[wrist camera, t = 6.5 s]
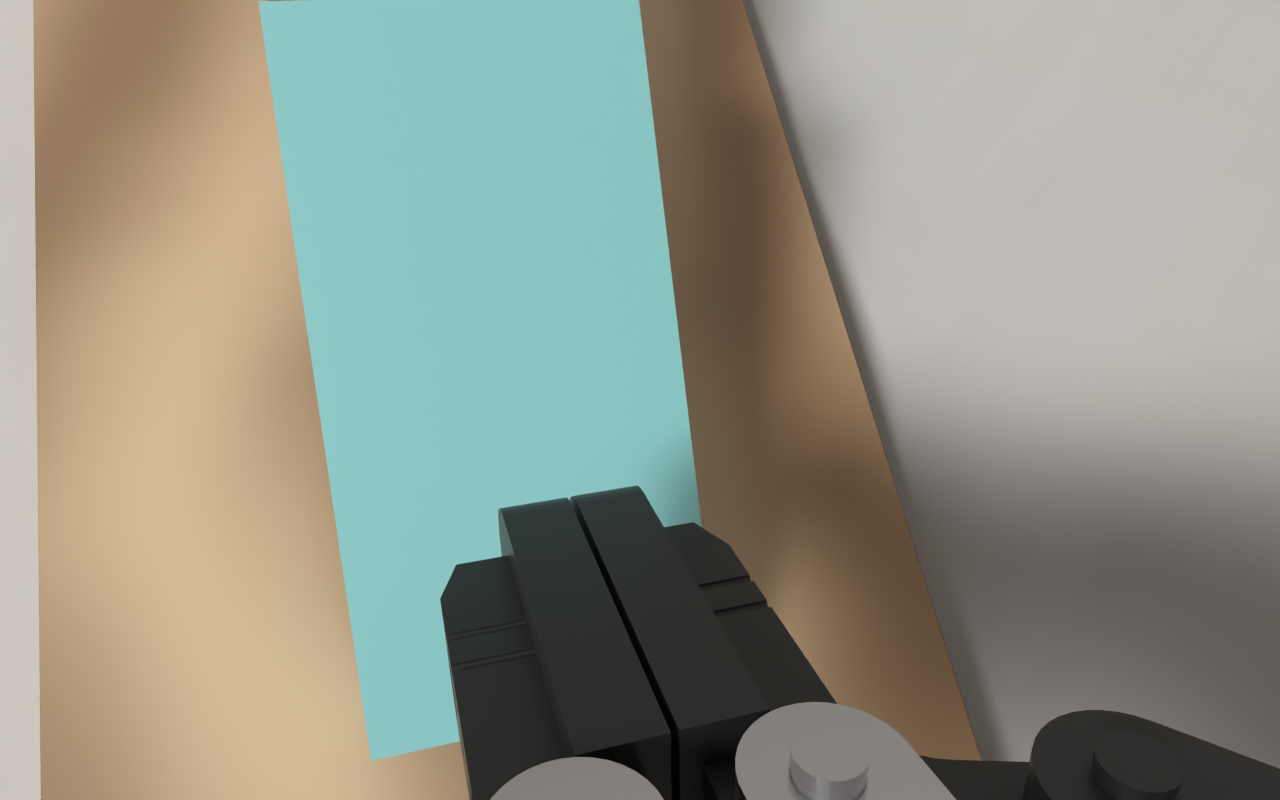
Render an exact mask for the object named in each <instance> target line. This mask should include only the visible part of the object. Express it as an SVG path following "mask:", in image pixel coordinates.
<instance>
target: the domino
mask: <svg viewBox="0 0 1280 800" xmlns="http://www.w3.org/2000/svg"><path fill="white" fill-rule="evenodd" d="M258 3H259V10H260V17H261V24H262V30H263V37H264V44H265V51H266V57H267V64H268V71H269V77H270V84H271V91H272V98H273V104H274V111H275V118H276V125H277V131H278V138H279V145H280V151H281V158H282V165H283V172H284V178H285V185H286V192H287V199H288V205H289V212H290V219H291V226H292V232H293V239H294V246H295V252H296V259H297V266H298V273H299V279H300V286H301V293H302V300H303V306H304V313H305V320H306V326H307V333H308V340H309V347H310V353H311V360H312V367H313V374H314V380H315V387H316V394H317V400H318V407H319V414H320V421H321V427H322V434H323V441H324V448H325V454H326V461H327V468H328V475H329V481H330V488H331V495H332V501H333V508H334V515H335V522H336V528H337V535H338V542H339V549H340V555H341V562H342V569H343V575H344V582H345V589H346V596H347V602H348V609H349V616H350V623H351V629H352V636H353V643H354V650H355V656H356V663H357V670H358V676H359V683H360V690H361V697H362V703H363V710H364V717H365V724H366V730H367V737H368V744H369V750H370V757H371V761H374V760H378V759H383V758H387V757H392V756H396V755H401V754H405V753H409V752H414V751H418V750H423V749H427V748H432V747H436V746H441V745H445V744H450V743H454V742H459V741H460V738H459V732H458V725H457V719H456V712H455V705H454V697H453V690H452V683H451V675H450V668H449V661H448V653H447V646H446V639H445V631H444V624H443V617H442V609H441V602H440V598H441V596H442V594H443V591H444V589H445V587H446V585H447V583H448V581H449V579H450V577H451V575H452V572H453V570H454V568H455V566H456V565H457V564H463V563H468V562H474V561H480V560H485V559H491V558H496V557H502V554H501V544H500V534H499V522H498V510H499V508H505V507H511V506H517V505H523V504H529V503H535V502H541V501H547V500H553V499H559V498H565V497H566V498H568V499H569V501H570V498H571V497H572V496H576V495H582V494H588V493H594V492H600V491H606V490H612V489H618V488H624V487H630V486H636V485H637V486H639V487H640V488H641V489H642V491H643V492H644V494H645V495H646V497H647V499H648V501H649V502H650V504H651V506H652V507H653V509H654V511H655V513H656V514H657V516H658V518H659V519H660V521H661V523H662V525H663V526H664V527H669V526H674V525H680V524H685V523H691V522H694V523H696V524H697V525H699V526H700V527H702V526H701V517H700V509H699V500H698V492H697V484H696V475H695V467H694V458H693V450H692V442H691V433H690V425H689V416H688V408H687V400H686V391H685V383H684V374H683V366H682V358H681V349H680V341H679V332H678V324H677V316H676V307H675V299H674V290H673V282H672V274H671V265H670V257H669V248H668V240H667V232H666V223H665V215H664V206H663V198H662V190H661V181H660V173H659V164H658V156H657V148H656V139H655V131H654V122H653V114H652V106H651V97H650V89H649V80H648V72H647V64H646V55H645V47H644V38H643V30H642V22H641V13H640V5H639V0H295V1H263V2H258Z"/></svg>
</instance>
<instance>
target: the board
mask: <svg viewBox="0 0 1280 800" xmlns="http://www.w3.org/2000/svg"><path fill="white" fill-rule="evenodd" d="M263 1H267V0H34V108H35V215H36V323H37V430H38V537H39V645H40V752H41V800H469V794H468V788H467V782H466V776H465V769H464V763H463V756H462V750H461V744H460V741H459V742H454V743H450V744H445V745H441V746H436V747H432V748H427V749H423V750H418V751H414V752H409V753H405V754H401V755H396V756H392V757H387V758H383V759H378V760H374V761H371V757H370V750H369V744H368V737H367V730H366V724H365V717H364V710H363V703H362V697H361V690H360V683H359V676H358V670H357V663H356V656H355V650H354V643H353V636H352V629H351V623H350V616H349V609H348V602H347V596H346V589H345V582H344V575H343V569H342V562H341V555H340V549H339V542H338V535H337V528H336V522H335V515H334V508H333V501H332V495H331V488H330V481H329V475H328V468H327V461H326V454H325V448H324V441H323V434H322V427H321V421H320V414H319V407H318V400H317V394H316V387H315V380H314V374H313V367H312V360H311V353H310V347H309V340H308V333H307V326H306V320H305V313H304V306H303V300H302V293H301V286H300V279H299V273H298V266H297V259H296V252H295V246H294V239H293V232H292V226H291V219H290V212H289V205H288V199H287V192H286V185H285V178H284V172H283V165H282V158H281V151H280V145H279V138H278V131H277V125H276V118H275V111H274V104H273V98H272V91H271V84H270V77H269V71H268V64H267V57H266V51H265V44H264V37H263V30H262V24H261V17H260V10H259V3H258V2H263ZM639 5H640V13H641V22H642V30H643V38H644V47H645V55H646V64H647V72H648V80H649V89H650V97H651V106H652V114H653V122H654V131H655V139H656V148H657V156H658V164H659V173H660V181H661V190H662V198H663V206H664V215H665V223H666V232H667V240H668V248H669V257H670V265H671V274H672V282H673V290H674V299H675V307H676V316H677V324H678V332H679V341H680V349H681V358H682V366H683V374H684V383H685V391H686V400H687V408H688V416H689V425H690V433H691V442H692V450H693V458H694V467H695V475H696V484H697V492H698V500H699V509H700V517H701V526H702V528H704V529H705V530H707V531H708V532H710V533H712V534H713V535H715V536H716V537H718V538H719V539H721V540H723V541H724V542H726V543H727V544H729V545H730V547H731V548H732V549H733V551H734V552H735V554H736V555H737V557H738V558H739V560H740V561H741V563H742V564H743V566H744V567H745V569H746V570H747V572H748V573H749V575H750V580H751V581H754V582H755V583H756V585H757V586H758V588H759V589H760V591H761V592H762V594H763V595H764V597H765V598H766V600H767V605H768V607H772V608H773V610H774V611H775V613H776V614H777V616H778V617H779V619H780V620H781V622H782V623H783V625H784V626H785V628H786V629H787V630H788V632H789V633H790V635H791V636H792V638H793V639H794V641H795V642H796V644H797V645H798V647H799V648H800V650H801V651H802V653H803V654H804V655H805V657H806V658H807V660H808V661H809V663H810V664H811V666H812V667H813V669H814V670H815V672H816V673H817V675H818V676H819V678H820V679H821V681H822V682H823V683H824V685H825V686H826V688H827V689H828V691H829V692H830V694H831V695H832V697H833V698H834V700H835V701H836V703H837V704H840V705H845V706H848V707H852V708H855V709H858V710H861V711H863V712H866V713H868V714H870V715H873V716H874V717H876V718H878V719H880V720H881V721H883V722H885V723H886V724H888V725H889V726H890V727H892V728H893V729H894V730H895V731H897V732H898V733H899V734H900V735H901V736H902V737H903V738H904V739H905V740H906V741H907V742H908V743H909V745H910V746H911V747H912V748H913V749H914V750H915V752H916V753H917V754H918V755H922V756H927V757H932V758H939V759H950V760H976V761H981V758H980V754H979V751H978V748H977V745H976V742H975V739H974V735H973V732H972V729H971V726H970V723H969V719H968V716H967V713H966V710H965V707H964V704H963V700H962V697H961V694H960V691H959V688H958V684H957V681H956V678H955V675H954V672H953V668H952V665H951V662H950V659H949V656H948V653H947V649H946V646H945V643H944V640H943V637H942V633H941V630H940V627H939V624H938V621H937V618H936V614H935V611H934V608H933V605H932V602H931V598H930V595H929V592H928V589H927V586H926V583H925V579H924V576H923V573H922V570H921V567H920V563H919V560H918V557H917V554H916V551H915V548H914V544H913V541H912V538H911V535H910V532H909V528H908V525H907V522H906V519H905V516H904V513H903V509H902V506H901V503H900V500H899V497H898V493H897V490H896V487H895V484H894V481H893V478H892V474H891V471H890V468H889V465H888V462H887V458H886V455H885V452H884V449H883V446H882V443H881V439H880V436H879V433H878V430H877V427H876V423H875V420H874V417H873V414H872V411H871V408H870V404H869V401H868V398H867V395H866V392H865V388H864V385H863V382H862V379H861V376H860V373H859V369H858V366H857V363H856V360H855V357H854V353H853V350H852V347H851V344H850V341H849V337H848V334H847V331H846V328H845V325H844V322H843V318H842V315H841V312H840V309H839V306H838V302H837V299H836V296H835V293H834V290H833V287H832V283H831V280H830V277H829V274H828V271H827V267H826V264H825V261H824V258H823V255H822V252H821V248H820V245H819V242H818V239H817V236H816V232H815V229H814V226H813V223H812V220H811V217H810V213H809V210H808V207H807V204H806V201H805V197H804V194H803V191H802V188H801V185H800V182H799V178H798V175H797V172H796V169H795V166H794V162H793V159H792V156H791V153H790V150H789V147H788V143H787V140H786V137H785V134H784V131H783V127H782V124H781V121H780V118H779V115H778V112H777V108H776V105H775V102H774V99H773V96H772V92H771V89H770V86H769V83H768V80H767V77H766V73H765V70H764V67H763V64H762V61H761V57H760V54H759V51H758V48H757V45H756V42H755V38H754V35H753V32H752V29H751V26H750V22H749V19H748V16H747V13H746V10H745V7H744V3H743V0H639Z"/></svg>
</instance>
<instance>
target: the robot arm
mask: <svg viewBox="0 0 1280 800" xmlns="http://www.w3.org/2000/svg"><path fill="white" fill-rule="evenodd" d="M498 522H499V534H500V544H501V554H502V557H496V558H491V559H485V560H480V561H474V562H468V563H463V564H457V565H456V566H455V568H454V570H453V572H452V575H451V577H450V579H449V581H448V583H447V585H446V587H445V589H444V591H443V594H442V596H441V598H440V602H441V609H442V617H443V624H444V631H445V639H446V646H447V653H448V661H449V668H450V675H451V683H452V690H453V697H454V705H455V712H456V719H457V725H458V732H459V738H460V744H461V750H462V756H463V763H464V769H465V776H466V782H467V788H468V794H469V800H1280V769H1278V768H1276V767H1273V766H1270V765H1267V764H1265V763H1262V762H1259V761H1257V760H1254V759H1251V758H1249V757H1246V756H1243V755H1241V754H1238V753H1235V752H1233V751H1230V750H1227V749H1225V748H1222V747H1219V746H1217V745H1214V744H1211V743H1209V742H1206V741H1203V740H1201V739H1198V738H1195V737H1193V736H1190V735H1187V734H1185V733H1182V732H1179V731H1177V730H1174V729H1171V728H1169V727H1166V726H1163V725H1161V724H1158V723H1155V722H1152V721H1150V720H1146V719H1143V718H1140V717H1137V716H1134V715H1129V714H1125V713H1120V712H1113V711H1104V710H1085V711H1078V712H1072V713H1068V714H1065V715H1062V716H1059V717H1057V718H1055V719H1054V720H1052V721H1050V722H1048V723H1047V724H1046V725H1045V726H1044V727H1043V728H1042V729H1041V730H1040V731H1039V733H1038V735H1037V736H1036V738H1035V741H1034V744H1033V748H1032V752H1031V757H1030V762H1006V761H976V760H950V759H939V758H932V757H927V756H922V755H918V754H917V753H916V752H915V750H914V749H913V748H912V747H911V746H910V745H909V743H908V742H907V741H906V740H905V739H904V738H903V737H902V736H901V735H900V734H899V733H898V732H897V731H895V730H894V729H893V728H892V727H890V726H889V725H888V724H886V723H885V722H883V721H881V720H880V719H878V718H876V717H874V716H873V715H870V714H868V713H866V712H863V711H861V710H858V709H855V708H852V707H848V706H845V705H840V704H837V703H836V701H835V700H834V698H833V697H832V695H831V694H830V692H829V691H828V689H827V688H826V686H825V685H824V683H823V682H822V681H821V679H820V678H819V676H818V675H817V673H816V672H815V670H814V669H813V667H812V666H811V664H810V663H809V661H808V660H807V658H806V657H805V655H804V654H803V653H802V651H801V650H800V648H799V647H798V645H797V644H796V642H795V641H794V639H793V638H792V636H791V635H790V633H789V632H788V630H787V629H786V628H785V626H784V625H783V623H782V622H781V620H780V619H779V617H778V616H777V614H776V613H775V611H774V610H773V608H772V607H768V605H767V600H766V598H765V597H764V595H763V594H762V592H761V591H760V589H759V588H758V586H757V585H756V583H755V582H754V581H751V580H750V575H749V573H748V572H747V570H746V569H745V567H744V566H743V564H742V563H741V561H740V560H739V558H738V557H737V555H736V554H735V552H734V551H733V549H732V548H731V547H730V545H729V544H727V543H726V542H724V541H723V540H721V539H719V538H718V537H716V536H715V535H713V534H712V533H710V532H708V531H707V530H705V529H704V528H702V527H700V526H699V525H697V524H696V523H694V522H691V523H685V524H680V525H674V526H669V527H664V526H663V525H662V523H661V521H660V519H659V518H658V516H657V514H656V513H655V511H654V509H653V507H652V506H651V504H650V502H649V501H648V499H647V497H646V495H645V494H644V492H643V491H642V489H641V488H640V487H639V486H637V485H636V486H630V487H624V488H618V489H612V490H606V491H600V492H594V493H588V494H582V495H576V496H572V497H571V498H570V501H569V499H568V498H566V497H565V498H559V499H553V500H547V501H541V502H535V503H529V504H523V505H517V506H511V507H505V508H499V510H498Z"/></svg>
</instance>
